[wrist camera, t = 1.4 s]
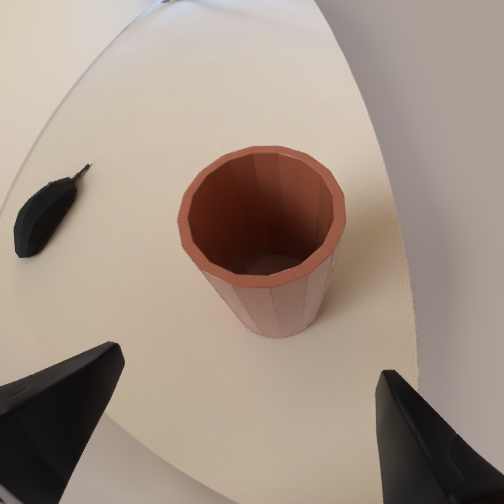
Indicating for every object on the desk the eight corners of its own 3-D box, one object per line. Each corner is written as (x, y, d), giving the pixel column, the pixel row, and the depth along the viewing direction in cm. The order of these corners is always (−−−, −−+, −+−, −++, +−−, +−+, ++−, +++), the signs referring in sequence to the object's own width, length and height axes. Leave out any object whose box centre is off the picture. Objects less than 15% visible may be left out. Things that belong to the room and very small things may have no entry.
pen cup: (298, 353, 21) (302, 319, 10) (216, 313, 23) (148, 244, 12) (336, 272, 23) (365, 172, 12) (258, 240, 25) (230, 132, 14)
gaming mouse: (101, 171, 32) (85, 150, 29) (31, 269, 28) (8, 255, 24) (78, 160, 34) (63, 142, 31) (14, 247, 30) (-5, 233, 26)
